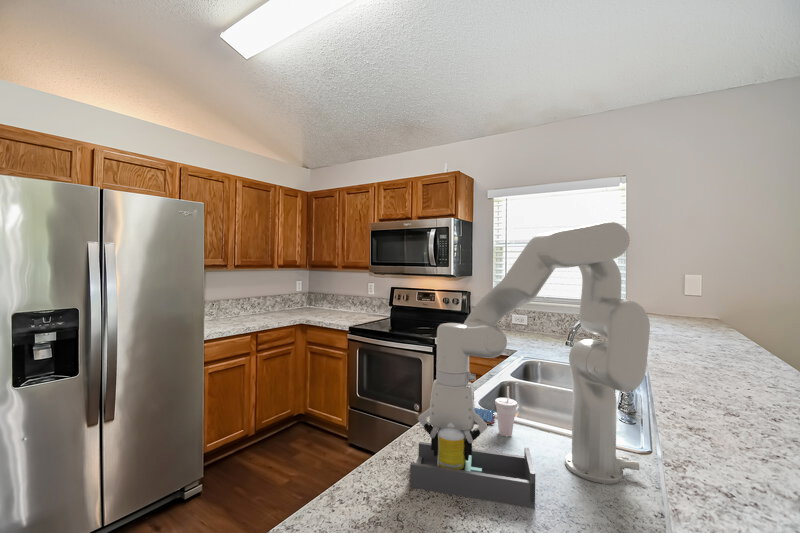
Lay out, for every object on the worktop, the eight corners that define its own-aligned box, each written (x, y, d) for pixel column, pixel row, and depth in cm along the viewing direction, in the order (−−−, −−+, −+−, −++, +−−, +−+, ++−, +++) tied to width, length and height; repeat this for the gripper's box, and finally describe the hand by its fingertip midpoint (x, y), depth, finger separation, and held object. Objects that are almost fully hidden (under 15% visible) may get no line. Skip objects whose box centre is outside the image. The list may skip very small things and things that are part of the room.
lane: (528, 478, 82) (528, 448, 82) (534, 508, 72) (535, 474, 72) (419, 461, 88) (419, 433, 88) (409, 487, 78) (410, 455, 78)
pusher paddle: (481, 468, 83) (482, 456, 83) (481, 489, 75) (481, 475, 75) (466, 466, 84) (466, 453, 84) (464, 486, 76) (464, 472, 76)
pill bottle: (465, 477, 77) (465, 424, 78) (435, 474, 79) (436, 421, 79) (465, 462, 84) (466, 413, 84) (438, 459, 85) (439, 410, 85)
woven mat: (494, 428, 110) (494, 421, 110) (460, 423, 113) (460, 416, 113) (495, 415, 120) (495, 409, 120) (464, 411, 123) (464, 405, 123)
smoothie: (519, 439, 102) (520, 390, 102) (497, 438, 102) (498, 390, 102) (512, 429, 108) (513, 383, 108) (492, 428, 108) (492, 383, 109)
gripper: (490, 376, 83) (490, 452, 83) (418, 370, 87) (417, 442, 87) (491, 385, 76) (490, 469, 75) (412, 378, 80) (411, 458, 80)
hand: (451, 454), depth 81 cm, fingers closed on pill bottle, 6 cm apart
